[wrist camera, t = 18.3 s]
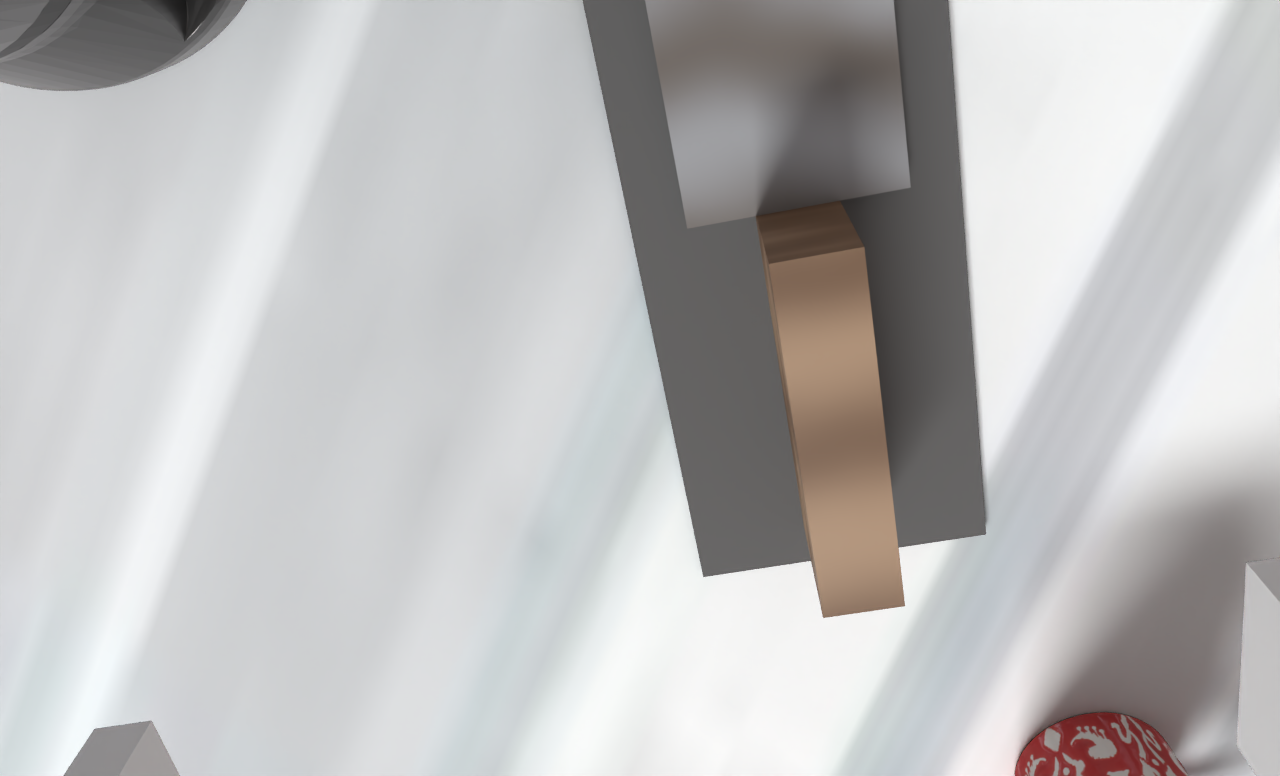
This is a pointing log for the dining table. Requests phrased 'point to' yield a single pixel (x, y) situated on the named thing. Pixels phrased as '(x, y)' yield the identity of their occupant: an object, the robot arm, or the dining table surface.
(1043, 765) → the mug
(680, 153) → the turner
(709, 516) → the mat
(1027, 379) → the dining table surface
